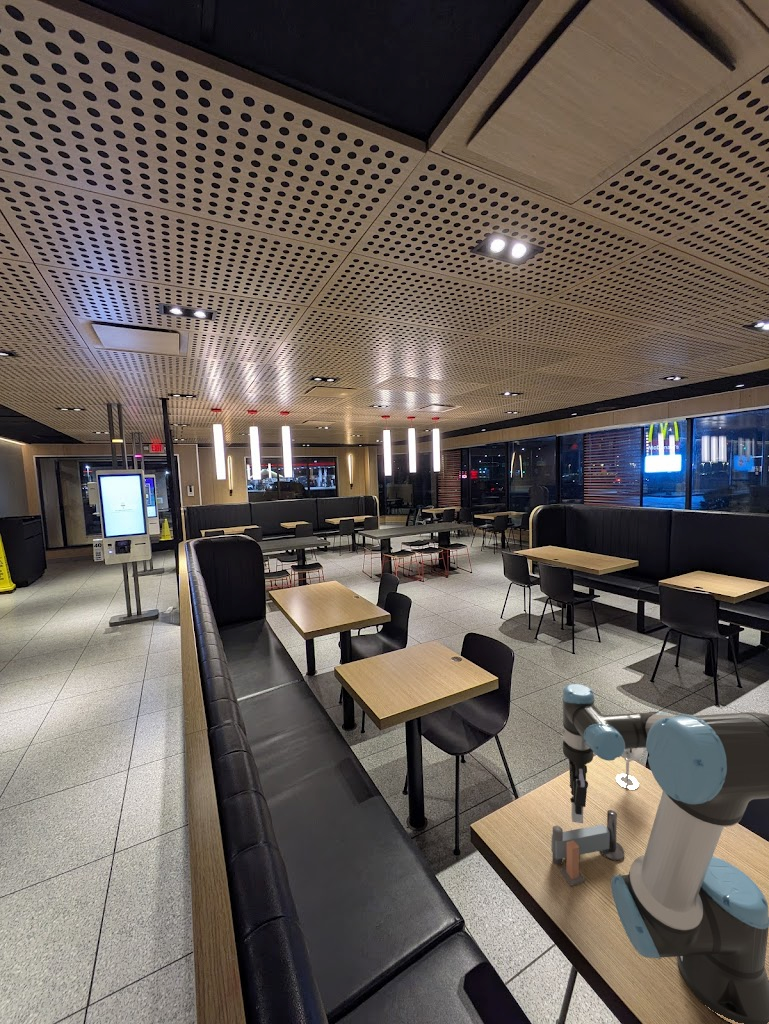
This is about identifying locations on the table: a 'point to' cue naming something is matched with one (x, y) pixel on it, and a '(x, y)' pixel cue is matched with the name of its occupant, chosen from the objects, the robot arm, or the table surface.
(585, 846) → the gate
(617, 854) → the hinge post
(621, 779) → the wineglass
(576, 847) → the post
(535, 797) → the table surface
